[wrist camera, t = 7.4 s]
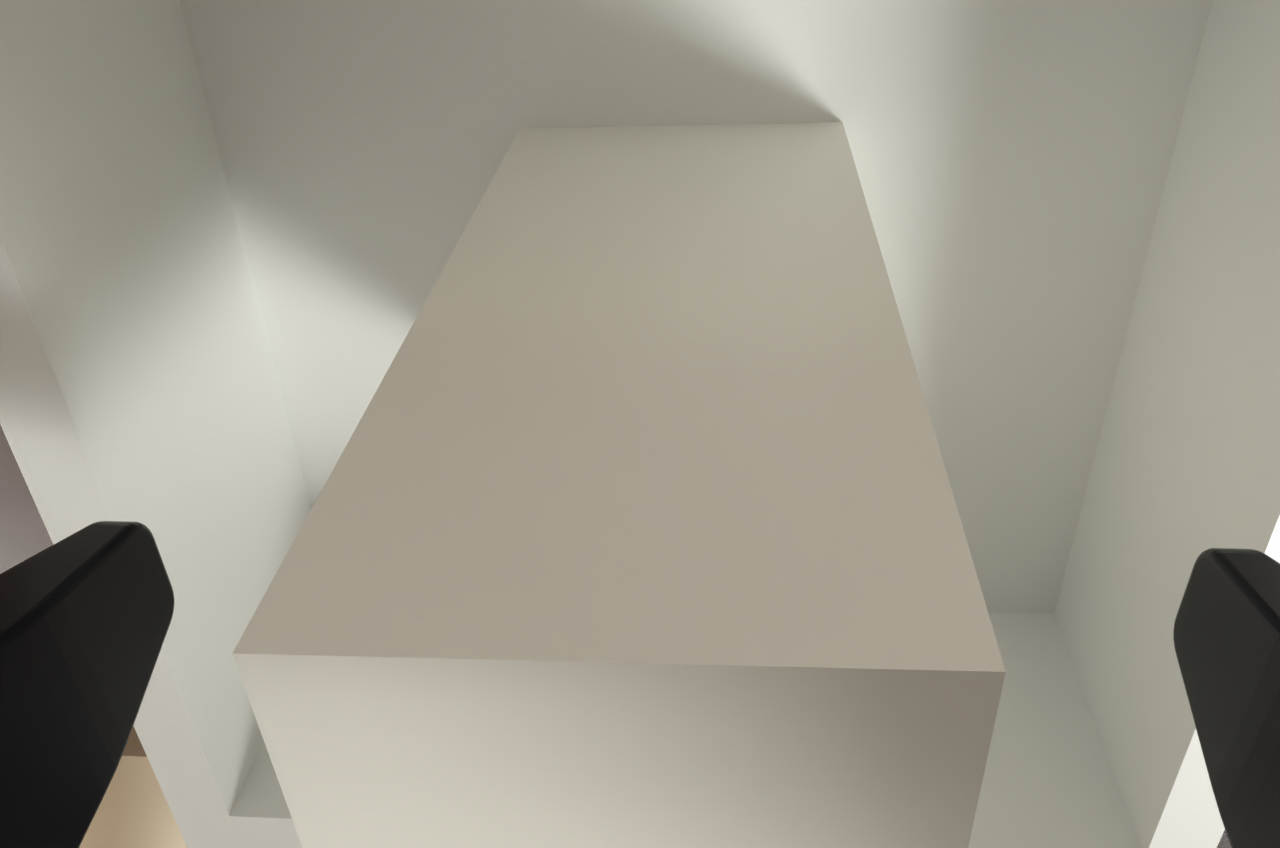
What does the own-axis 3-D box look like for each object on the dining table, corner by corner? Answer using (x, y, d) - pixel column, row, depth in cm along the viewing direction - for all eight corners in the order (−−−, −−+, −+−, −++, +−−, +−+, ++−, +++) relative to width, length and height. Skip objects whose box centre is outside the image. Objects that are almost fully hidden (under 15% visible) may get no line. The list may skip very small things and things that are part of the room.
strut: (842, 122, 13) (1005, 673, 5) (824, 399, 15) (920, 1069, 7) (519, 128, 13) (233, 653, 5) (549, 398, 15) (371, 1038, 8)
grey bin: (1368, -383, 10) (1811, -473, 6) (1084, 625, 18) (1193, 898, 13) (52, -326, 11) (-350, -367, 7) (309, 602, 19) (187, 848, 14)
